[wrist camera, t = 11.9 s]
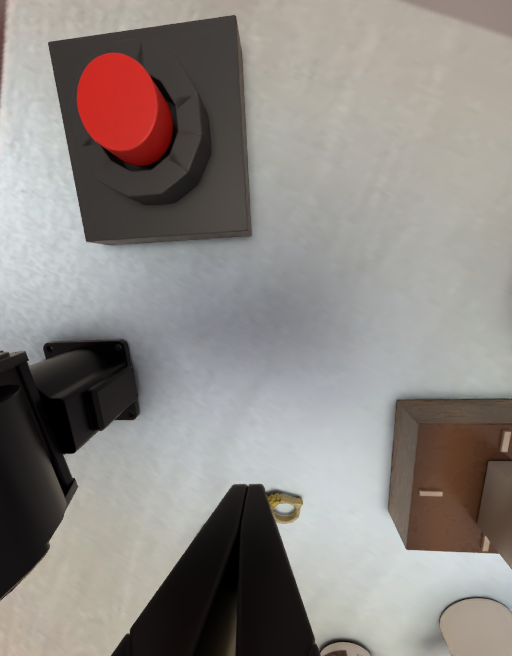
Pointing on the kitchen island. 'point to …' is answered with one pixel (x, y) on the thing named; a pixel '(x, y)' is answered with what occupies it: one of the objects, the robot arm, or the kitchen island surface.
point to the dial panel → (445, 470)
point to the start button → (124, 109)
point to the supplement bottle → (344, 650)
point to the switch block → (186, 144)
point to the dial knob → (498, 508)
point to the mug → (477, 628)
